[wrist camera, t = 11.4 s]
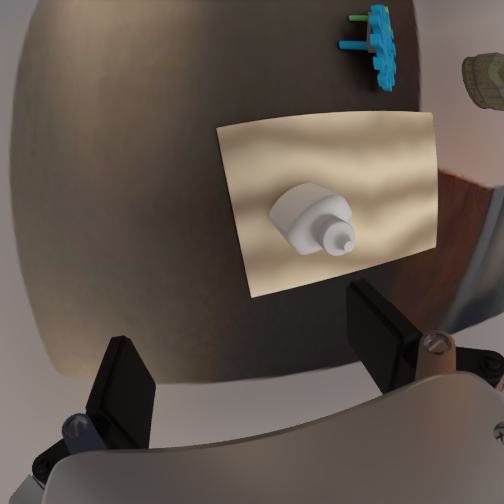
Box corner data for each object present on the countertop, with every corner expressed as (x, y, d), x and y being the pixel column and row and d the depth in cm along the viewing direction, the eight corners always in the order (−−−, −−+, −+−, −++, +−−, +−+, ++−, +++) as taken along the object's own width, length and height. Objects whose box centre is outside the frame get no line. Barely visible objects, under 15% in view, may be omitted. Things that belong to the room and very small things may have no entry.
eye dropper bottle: (263, 188, 26) (303, 220, 15) (317, 180, 27) (386, 205, 16) (269, 231, 28) (308, 287, 17) (321, 221, 29) (384, 268, 17)
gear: (398, 107, 24) (383, 57, 16) (348, 101, 27) (316, 54, 19) (400, 36, 22) (383, -19, 14) (356, 33, 25) (328, -17, 17)
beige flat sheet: (216, 128, 24) (216, 128, 24) (427, 113, 26) (431, 113, 25) (250, 294, 31) (251, 297, 31) (432, 244, 33) (435, 246, 32)
